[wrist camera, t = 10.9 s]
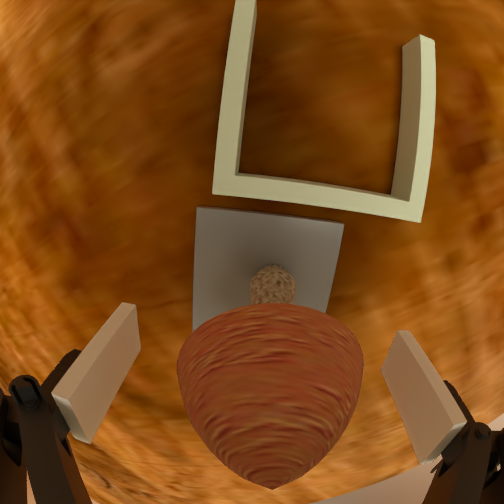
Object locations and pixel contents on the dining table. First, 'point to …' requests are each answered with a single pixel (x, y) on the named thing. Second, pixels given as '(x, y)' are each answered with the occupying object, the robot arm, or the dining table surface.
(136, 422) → the dining table surface
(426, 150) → the cream u-shaped piece
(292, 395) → the mushroom
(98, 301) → the dining table surface
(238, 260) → the coaster
